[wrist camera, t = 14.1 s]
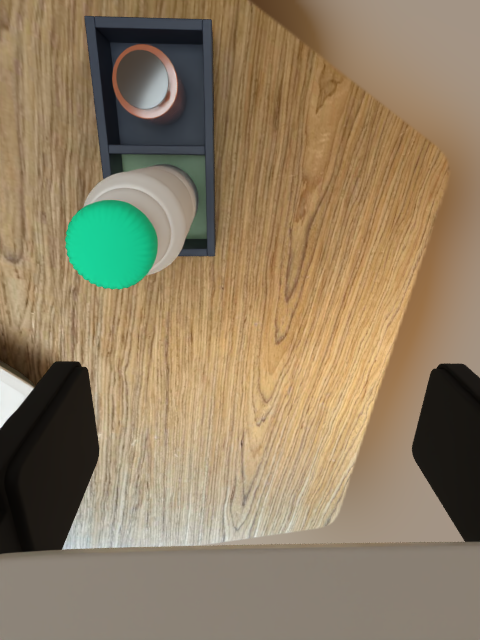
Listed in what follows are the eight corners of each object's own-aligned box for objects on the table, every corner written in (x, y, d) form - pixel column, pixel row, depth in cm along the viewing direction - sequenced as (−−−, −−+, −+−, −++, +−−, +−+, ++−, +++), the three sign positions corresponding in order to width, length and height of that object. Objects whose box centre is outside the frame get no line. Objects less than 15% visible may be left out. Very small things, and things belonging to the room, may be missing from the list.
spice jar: (132, 66, 39) (104, 39, 29) (185, 67, 39) (174, 40, 30) (137, 125, 41) (112, 117, 31) (187, 126, 41) (178, 118, 32)
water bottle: (126, 216, 44) (23, 286, 21) (145, 152, 42) (53, 154, 19) (186, 240, 45) (151, 330, 22) (208, 179, 43) (194, 212, 20)
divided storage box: (125, 243, 46) (112, 256, 41) (103, 35, 39) (84, 15, 33) (215, 244, 47) (214, 256, 41) (212, 37, 39) (211, 19, 34)
